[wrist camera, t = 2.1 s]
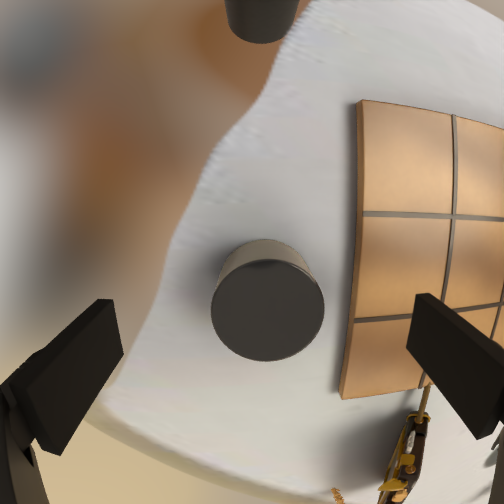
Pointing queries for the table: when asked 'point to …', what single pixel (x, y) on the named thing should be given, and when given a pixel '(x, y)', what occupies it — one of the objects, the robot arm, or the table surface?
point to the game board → (421, 237)
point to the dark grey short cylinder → (266, 302)
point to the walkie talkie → (404, 458)
